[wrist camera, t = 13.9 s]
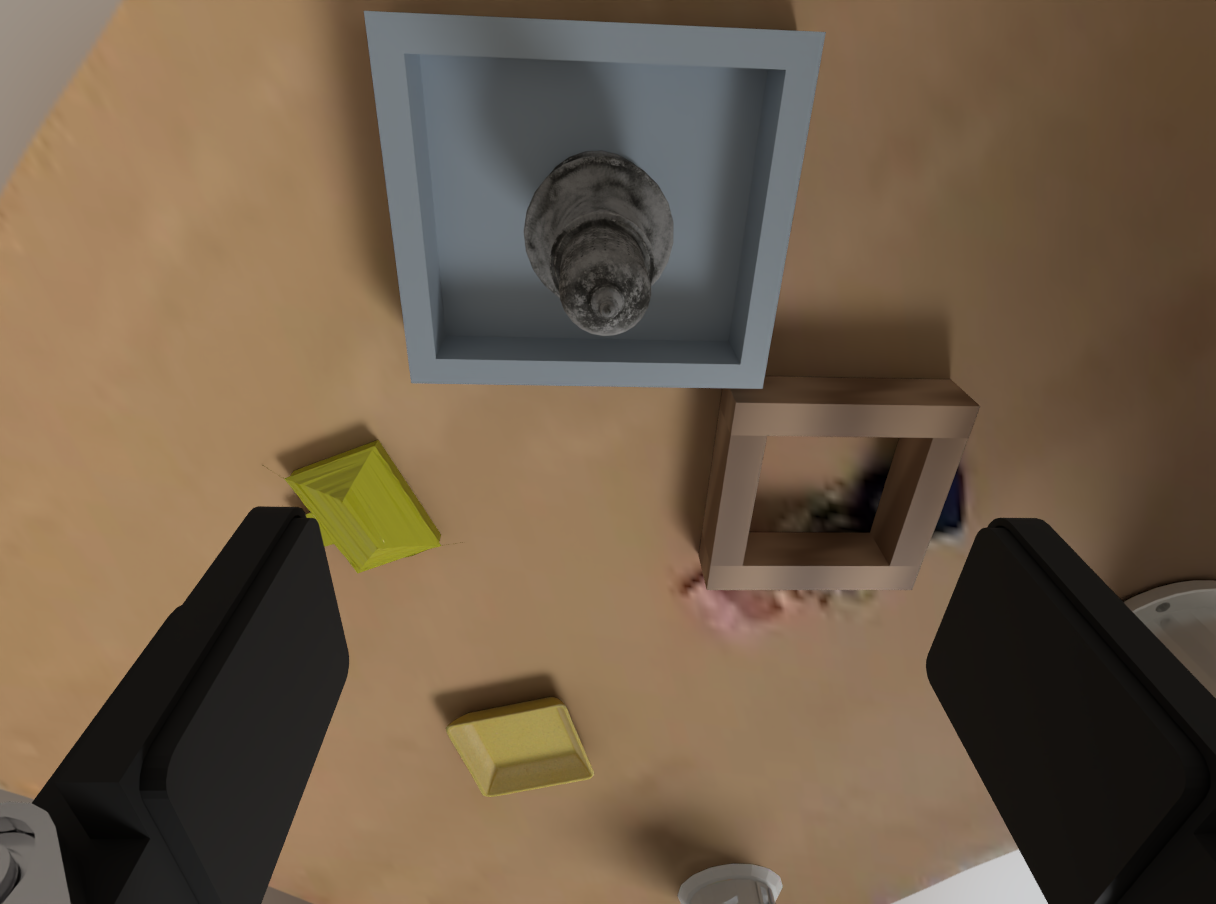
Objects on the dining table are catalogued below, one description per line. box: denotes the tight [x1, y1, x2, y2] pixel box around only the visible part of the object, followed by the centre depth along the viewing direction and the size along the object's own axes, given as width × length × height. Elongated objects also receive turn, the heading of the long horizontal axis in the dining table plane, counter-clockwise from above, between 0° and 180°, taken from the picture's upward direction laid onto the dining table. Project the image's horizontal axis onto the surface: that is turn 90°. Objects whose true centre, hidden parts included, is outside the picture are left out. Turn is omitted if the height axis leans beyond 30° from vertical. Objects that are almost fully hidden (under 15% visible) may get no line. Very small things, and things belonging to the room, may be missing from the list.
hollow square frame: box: [699, 376, 980, 590], centre depth 37 cm, size 12×12×3 cm
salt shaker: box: [524, 150, 674, 336], centre depth 24 cm, size 6×6×12 cm
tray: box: [364, 11, 826, 389], centre depth 28 cm, size 16×14×4 cm
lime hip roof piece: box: [264, 440, 463, 573], centre depth 37 cm, size 10×9×3 cm
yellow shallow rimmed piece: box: [446, 697, 594, 797], centre depth 49 cm, size 9×9×2 cm
